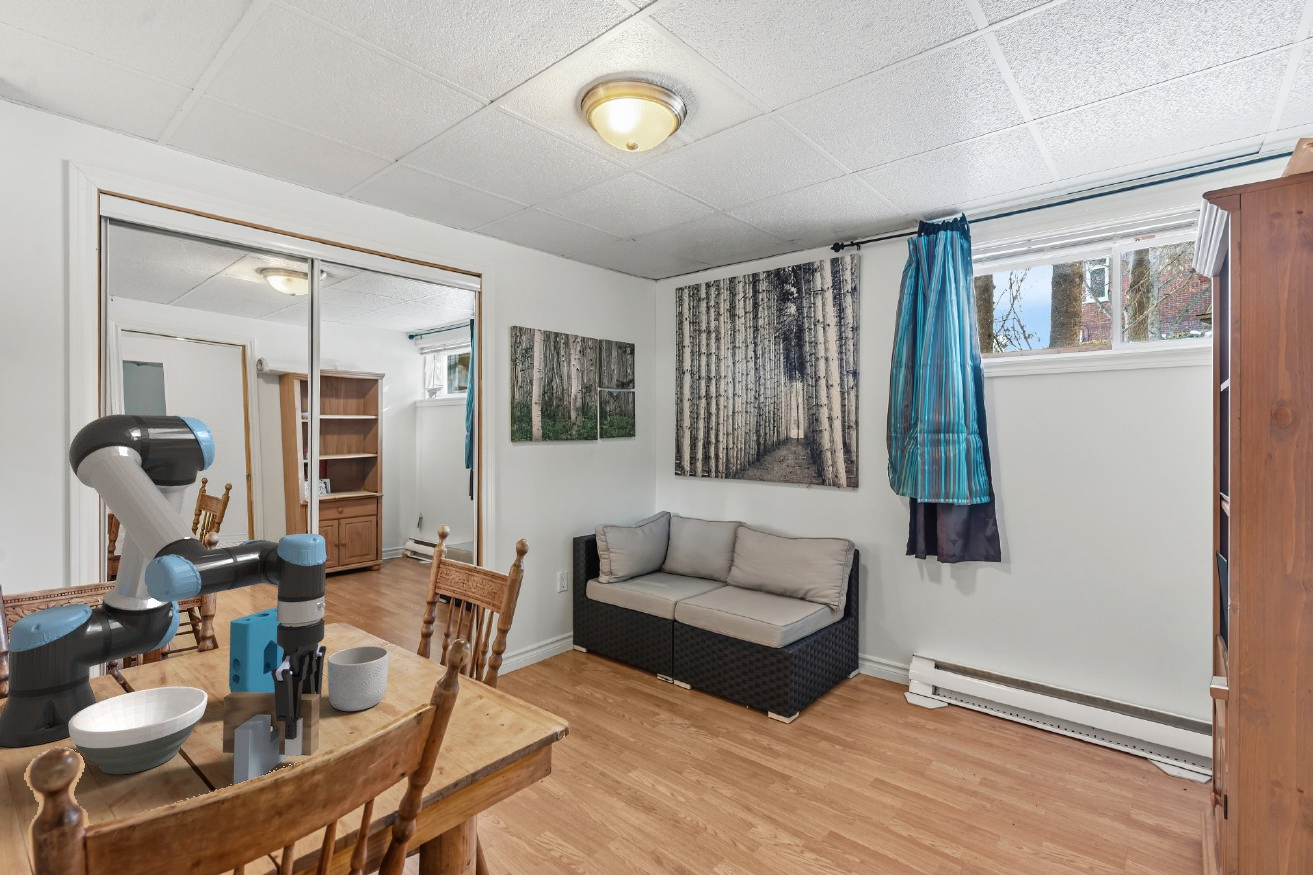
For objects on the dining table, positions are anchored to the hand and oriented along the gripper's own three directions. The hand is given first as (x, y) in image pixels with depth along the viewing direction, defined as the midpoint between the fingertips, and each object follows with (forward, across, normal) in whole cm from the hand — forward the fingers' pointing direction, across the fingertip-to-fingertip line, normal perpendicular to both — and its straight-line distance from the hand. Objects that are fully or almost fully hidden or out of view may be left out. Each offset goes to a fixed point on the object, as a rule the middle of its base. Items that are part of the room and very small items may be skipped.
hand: (298, 749), depth 114 cm
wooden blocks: (0, 0, +5) cm, 5 cm away
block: (+3, +23, +22) cm, 32 cm away
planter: (+3, +26, +2) cm, 26 cm away
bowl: (+3, 0, +29) cm, 29 cm away
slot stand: (+3, 0, +5) cm, 6 cm away
